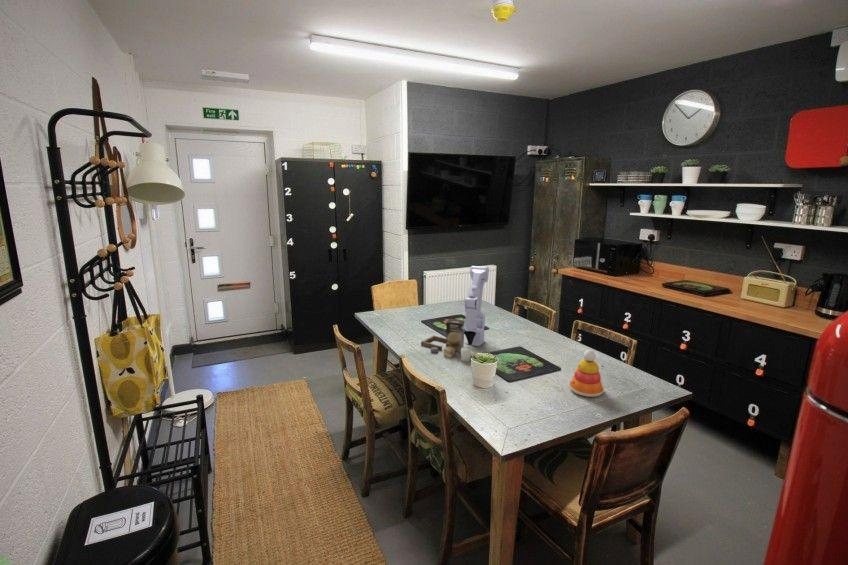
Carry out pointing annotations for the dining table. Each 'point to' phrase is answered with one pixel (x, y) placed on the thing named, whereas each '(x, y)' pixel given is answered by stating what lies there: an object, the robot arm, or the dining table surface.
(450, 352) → the oak block
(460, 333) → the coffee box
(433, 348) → the rubber puck
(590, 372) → the stacking toy
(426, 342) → the walnut bay
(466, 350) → the pale grey rounded cylinder
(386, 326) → the dining table surface
